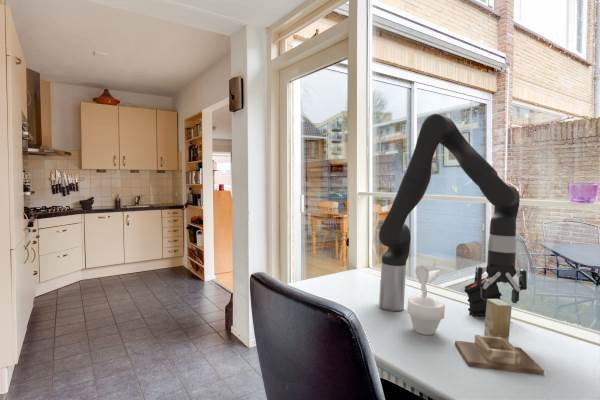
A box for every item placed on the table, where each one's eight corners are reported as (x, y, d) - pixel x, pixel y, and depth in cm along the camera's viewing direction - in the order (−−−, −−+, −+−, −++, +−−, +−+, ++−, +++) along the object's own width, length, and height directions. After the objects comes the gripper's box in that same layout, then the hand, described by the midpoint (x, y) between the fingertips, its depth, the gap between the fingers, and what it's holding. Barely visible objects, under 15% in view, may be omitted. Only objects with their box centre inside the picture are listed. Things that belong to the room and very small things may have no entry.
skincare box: (483, 335, 112) (485, 298, 111) (496, 335, 112) (498, 298, 112) (496, 344, 105) (498, 304, 105) (509, 344, 106) (512, 305, 105)
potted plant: (425, 341, 105) (430, 260, 104) (398, 327, 116) (402, 252, 115) (454, 335, 111) (458, 257, 110) (425, 322, 121) (429, 251, 121)
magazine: (510, 314, 128) (496, 277, 128) (478, 328, 128) (463, 291, 127) (504, 310, 132) (490, 275, 131) (473, 324, 132) (458, 288, 131)
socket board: (468, 365, 91) (469, 350, 91) (454, 344, 104) (455, 330, 104) (543, 375, 88) (544, 358, 88) (520, 351, 101) (521, 337, 101)
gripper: (481, 250, 105) (478, 303, 106) (532, 253, 103) (530, 307, 103) (473, 246, 113) (471, 295, 113) (521, 249, 110) (518, 299, 111)
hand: (499, 301), depth 108 cm, fingers open, 8 cm apart
